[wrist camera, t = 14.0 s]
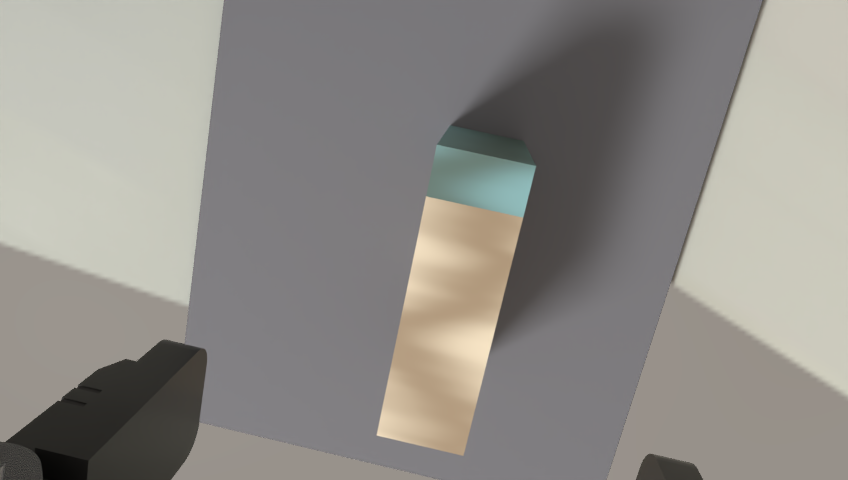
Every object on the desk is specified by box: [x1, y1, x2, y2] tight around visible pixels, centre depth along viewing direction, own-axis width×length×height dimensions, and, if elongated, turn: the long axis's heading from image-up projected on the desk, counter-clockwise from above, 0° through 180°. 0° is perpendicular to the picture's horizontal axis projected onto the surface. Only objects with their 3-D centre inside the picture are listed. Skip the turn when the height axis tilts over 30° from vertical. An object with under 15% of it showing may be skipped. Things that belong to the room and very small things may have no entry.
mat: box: [185, 0, 763, 480], centre depth 27 cm, size 20×26×1 cm
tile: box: [377, 125, 536, 456], centre depth 24 cm, size 3×7×10 cm
